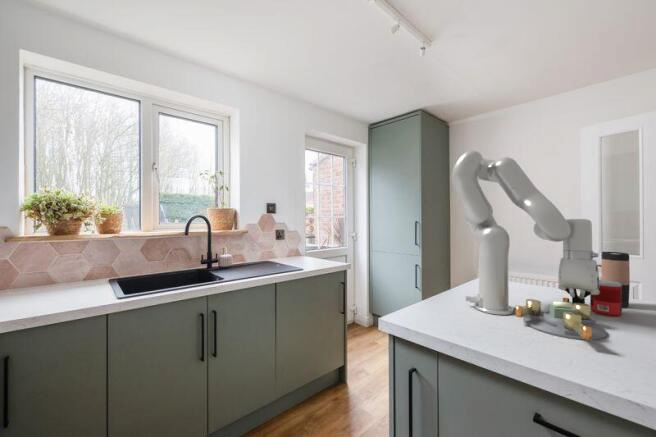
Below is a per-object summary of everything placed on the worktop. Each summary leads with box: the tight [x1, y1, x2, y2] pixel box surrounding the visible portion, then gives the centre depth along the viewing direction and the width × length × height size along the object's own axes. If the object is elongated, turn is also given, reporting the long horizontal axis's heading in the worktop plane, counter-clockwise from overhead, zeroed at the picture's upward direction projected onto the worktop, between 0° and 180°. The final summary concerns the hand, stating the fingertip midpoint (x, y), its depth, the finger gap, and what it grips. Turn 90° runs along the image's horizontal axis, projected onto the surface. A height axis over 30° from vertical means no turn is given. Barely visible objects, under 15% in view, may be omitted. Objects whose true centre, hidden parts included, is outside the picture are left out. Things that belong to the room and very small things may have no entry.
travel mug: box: [600, 251, 631, 309], centre depth 108 cm, size 8×8×20 cm
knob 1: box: [515, 298, 542, 318], centre depth 93 cm, size 12×4×4 cm, turn 119°
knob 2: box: [562, 297, 591, 320], centre depth 94 cm, size 12×4×4 cm, turn 167°
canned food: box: [589, 279, 623, 318], centre depth 100 cm, size 8×8×11 cm
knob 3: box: [563, 312, 593, 341], centre depth 79 cm, size 12×4×4 cm, turn 159°
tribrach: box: [522, 301, 607, 341], centre depth 89 cm, size 20×20×8 cm
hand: (578, 308), depth 97 cm, fingers closed
